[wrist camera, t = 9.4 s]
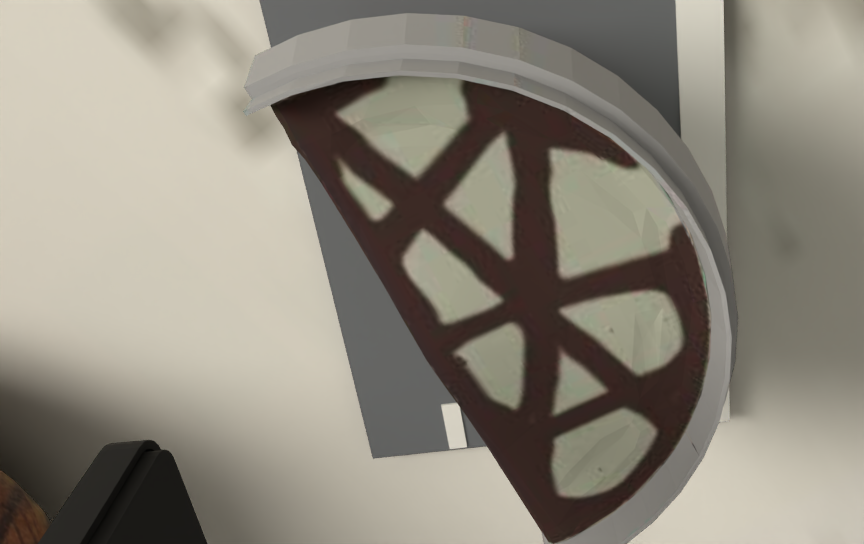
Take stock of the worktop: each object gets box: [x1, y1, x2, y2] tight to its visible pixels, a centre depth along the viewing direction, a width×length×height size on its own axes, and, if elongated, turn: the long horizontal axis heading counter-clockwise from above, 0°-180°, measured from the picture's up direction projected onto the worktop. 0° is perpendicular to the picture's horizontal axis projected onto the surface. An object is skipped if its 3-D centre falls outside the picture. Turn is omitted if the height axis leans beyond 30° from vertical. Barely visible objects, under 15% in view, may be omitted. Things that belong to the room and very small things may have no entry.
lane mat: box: [260, 0, 730, 458], centre depth 24 cm, size 12×18×1 cm, turn 10°
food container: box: [243, 13, 738, 544], centre depth 19 cm, size 12×6×10 cm, turn 29°
